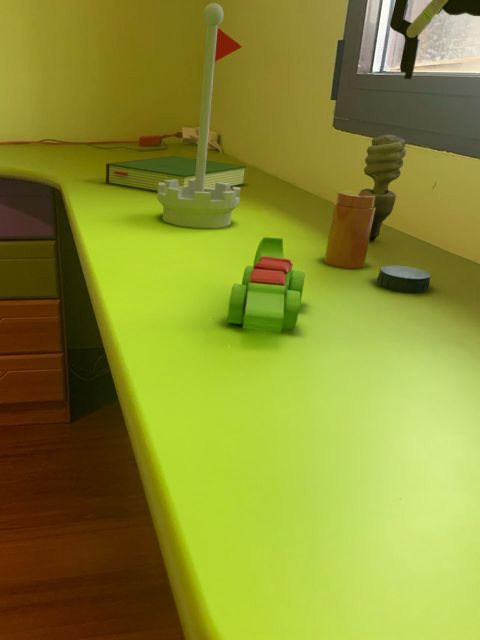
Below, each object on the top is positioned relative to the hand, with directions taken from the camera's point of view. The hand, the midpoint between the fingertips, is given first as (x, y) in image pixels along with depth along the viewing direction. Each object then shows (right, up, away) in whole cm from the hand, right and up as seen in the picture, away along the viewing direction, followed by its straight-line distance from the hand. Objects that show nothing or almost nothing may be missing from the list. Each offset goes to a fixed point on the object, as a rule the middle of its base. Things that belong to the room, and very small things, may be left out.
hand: (450, 82), depth 73 cm
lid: (-1, -18, +10) cm, 21 cm away
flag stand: (-25, -3, +38) cm, 46 cm away
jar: (-6, -15, +19) cm, 25 cm away
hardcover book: (-27, +14, +71) cm, 77 cm away
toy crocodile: (-20, -25, -2) cm, 32 cm away
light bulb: (+1, -8, +32) cm, 33 cm away
